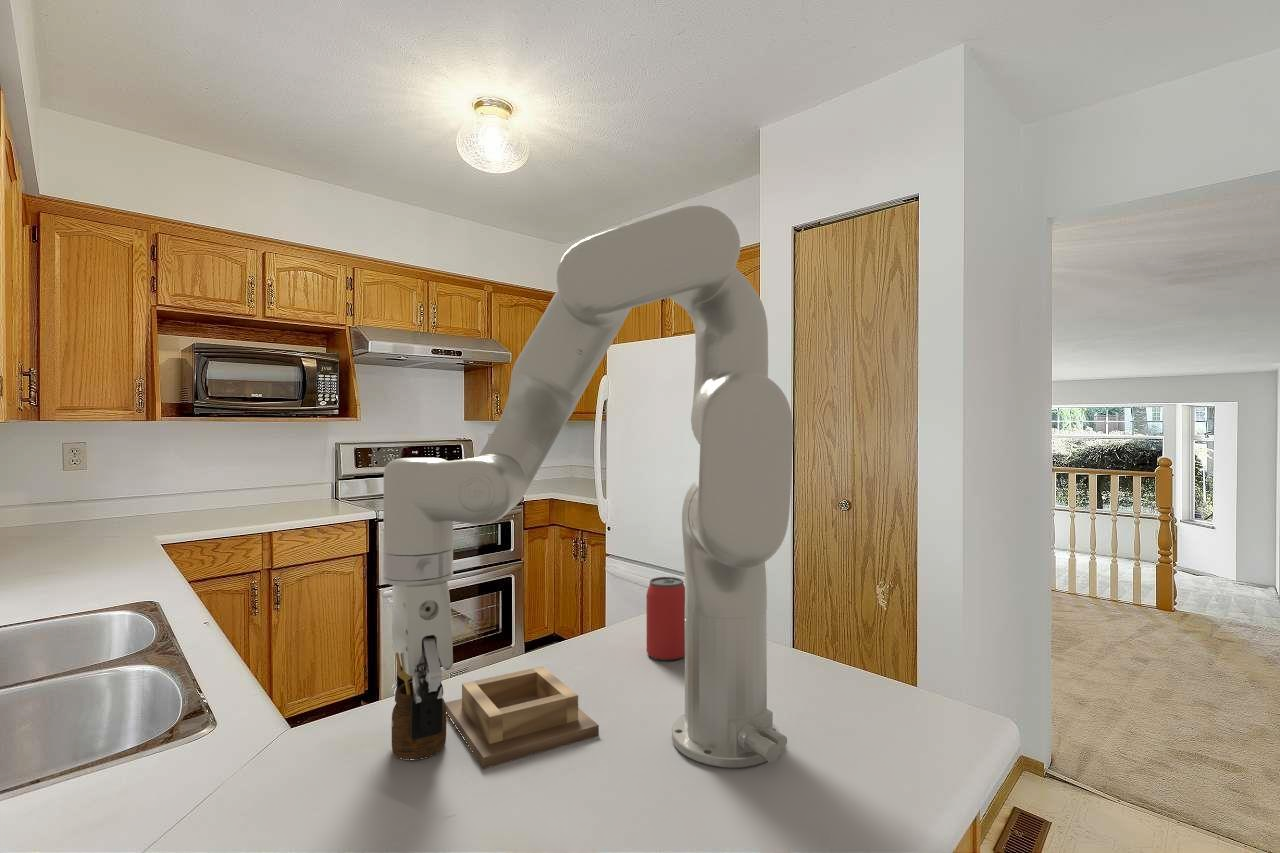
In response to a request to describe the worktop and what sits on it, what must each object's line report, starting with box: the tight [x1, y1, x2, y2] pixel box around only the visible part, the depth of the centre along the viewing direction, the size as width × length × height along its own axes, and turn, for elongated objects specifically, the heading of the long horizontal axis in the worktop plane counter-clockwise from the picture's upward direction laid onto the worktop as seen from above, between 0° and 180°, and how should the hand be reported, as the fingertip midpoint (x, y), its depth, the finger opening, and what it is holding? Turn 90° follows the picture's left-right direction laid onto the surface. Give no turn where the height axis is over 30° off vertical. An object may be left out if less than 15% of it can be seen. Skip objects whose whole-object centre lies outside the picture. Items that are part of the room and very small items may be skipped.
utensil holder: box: [391, 653, 447, 761], centre depth 71 cm, size 6×6×12 cm
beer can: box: [645, 576, 685, 662], centre depth 101 cm, size 7×7×12 cm
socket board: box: [445, 666, 600, 769], centre depth 78 cm, size 16×14×4 cm
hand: (418, 720), depth 71 cm, fingers open, 7 cm apart
